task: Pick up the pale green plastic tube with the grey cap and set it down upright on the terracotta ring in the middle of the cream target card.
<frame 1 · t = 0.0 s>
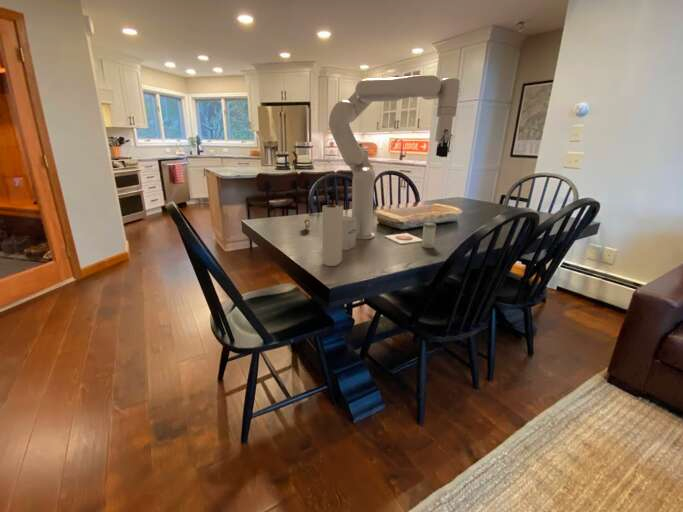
hand: (441, 156, 140), 37 cm above the table, tool pointing down, fingers open, 9 cm apart
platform: (307, 231, 164), on the table
paper towel roll: (332, 264, 121), on the table
tube: (427, 246, 143), on the table
white bottle: (344, 247, 140), on the table
target card: (403, 239, 153), on the table
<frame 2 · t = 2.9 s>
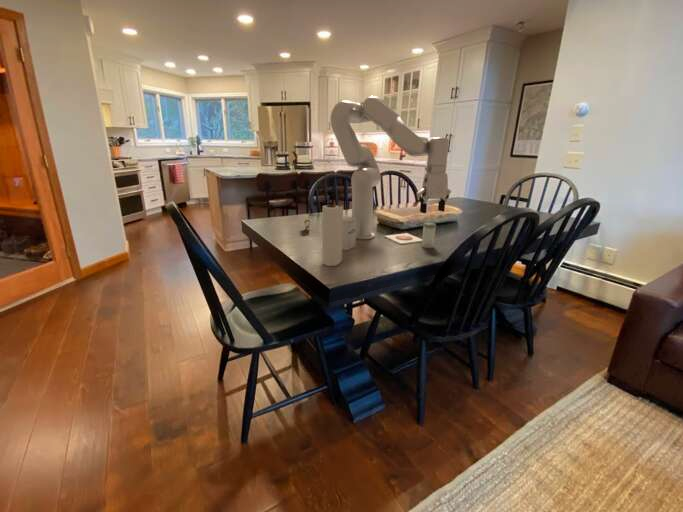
hand: (432, 211, 138), 15 cm above the table, tool pointing down, fingers open, 9 cm apart
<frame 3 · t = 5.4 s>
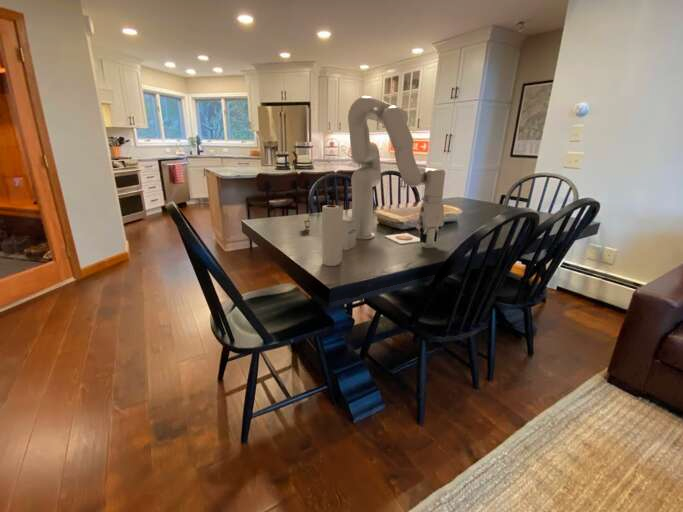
hand: (428, 240, 143), 2 cm above the table, tool pointing down, fingers closed on tube, 5 cm apart
tube: (427, 246, 143), on the table, touching gripper
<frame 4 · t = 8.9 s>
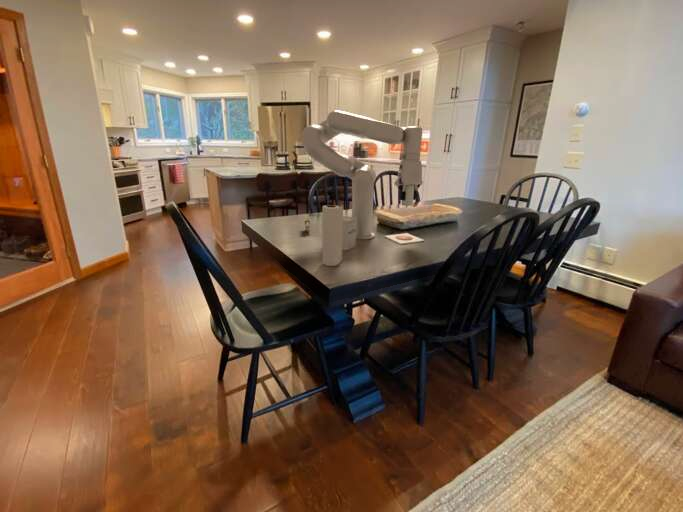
hand: (407, 199, 147), 19 cm above the table, tool pointing down, fingers closed on tube, 5 cm apart
tube: (407, 204, 148), point 16 cm above the table, touching gripper
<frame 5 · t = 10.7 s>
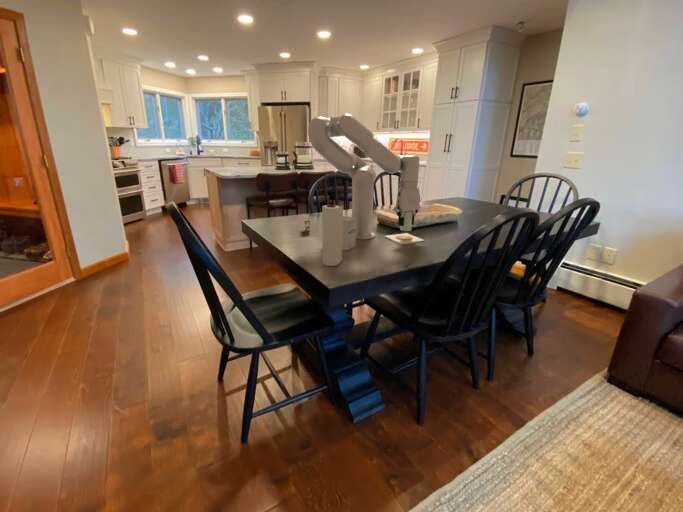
hand: (406, 224, 151), 7 cm above the table, tool pointing down, fingers closed on tube, 5 cm apart
tube: (405, 229, 152), point 5 cm above the table, touching gripper
when the fingers open (4 cm above the table, at t = 12.2 s): tube stays where it is, resting on target card.
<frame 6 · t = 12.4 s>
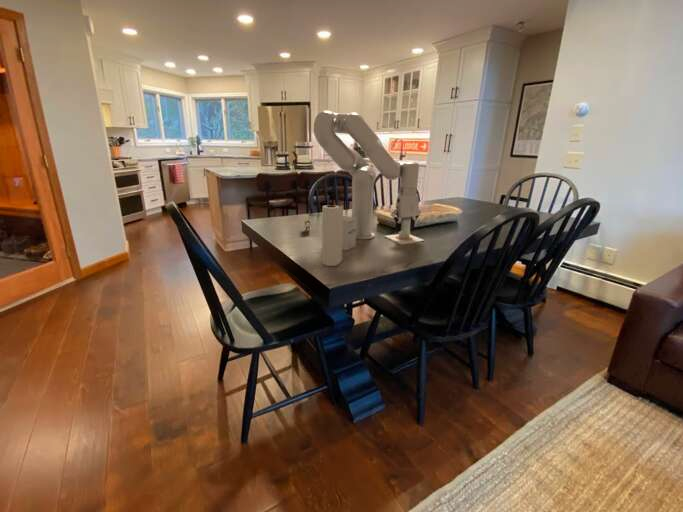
hand: (404, 229, 152), 5 cm above the table, tool pointing down, fingers open, 7 cm apart
tube: (403, 237, 153), point 1 cm above the table, touching target card
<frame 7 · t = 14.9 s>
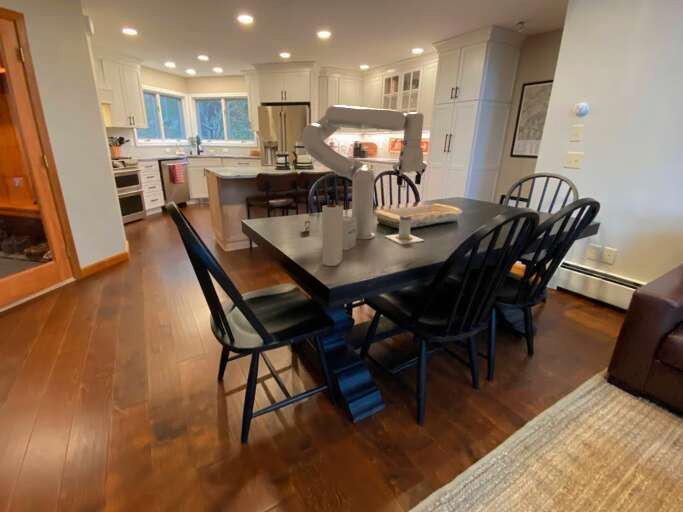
hand: (408, 184, 147), 25 cm above the table, tool pointing down, fingers open, 9 cm apart
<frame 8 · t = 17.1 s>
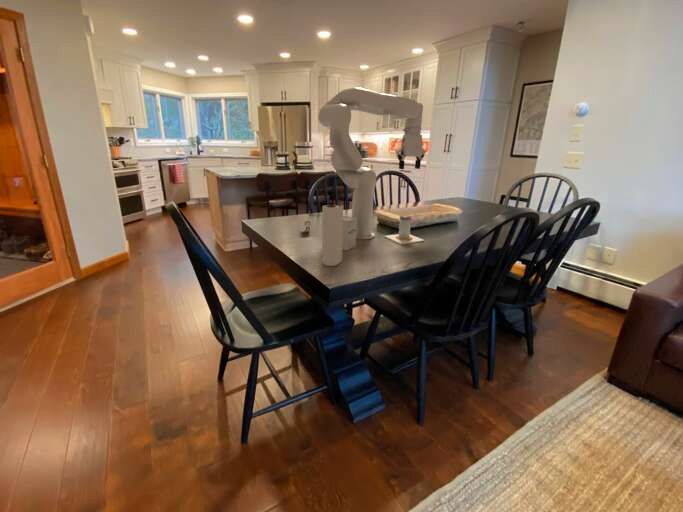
hand: (409, 168, 162), 30 cm above the table, tool pointing down, fingers open, 9 cm apart
at the end: tube inside the target area on the target card (0.0 cm from its centre), point 0.7 cm above the target card's base; tube tilted 0°; the gripper is holding nothing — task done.
